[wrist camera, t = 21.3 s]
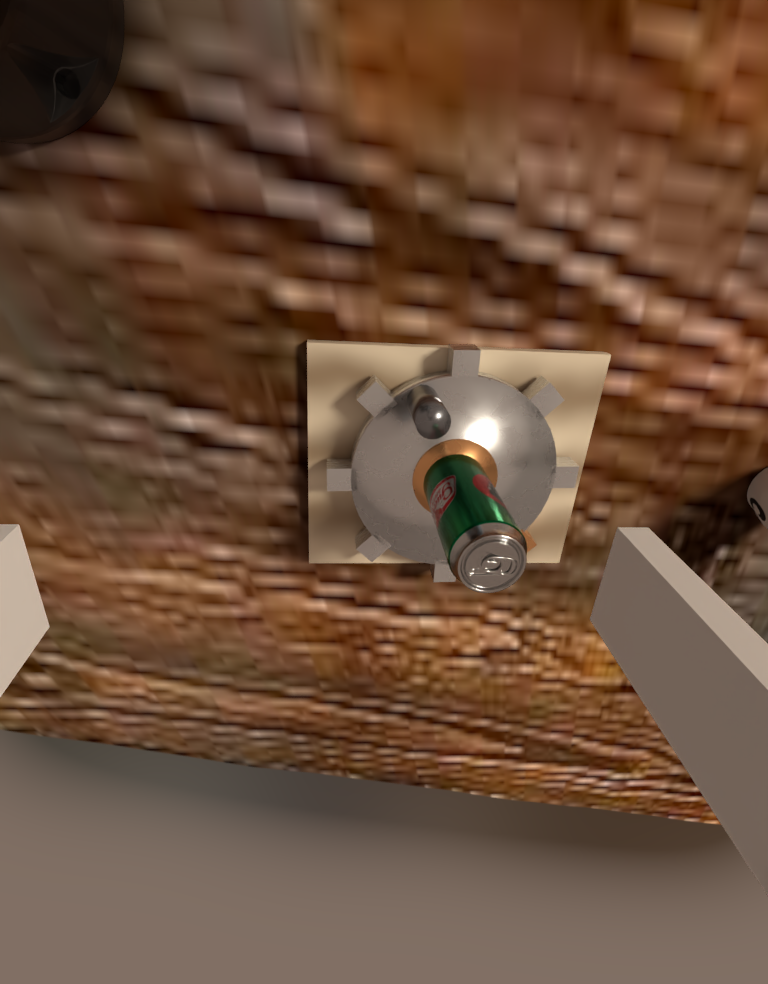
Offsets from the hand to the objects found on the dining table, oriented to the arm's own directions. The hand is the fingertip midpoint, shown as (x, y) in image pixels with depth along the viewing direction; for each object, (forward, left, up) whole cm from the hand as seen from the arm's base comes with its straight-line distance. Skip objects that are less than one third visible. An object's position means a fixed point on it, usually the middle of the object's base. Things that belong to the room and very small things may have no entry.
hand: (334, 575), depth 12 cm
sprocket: (+11, +10, -30) cm, 34 cm away
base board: (+11, +10, -32) cm, 35 cm away
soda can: (+11, +10, -28) cm, 32 cm away
